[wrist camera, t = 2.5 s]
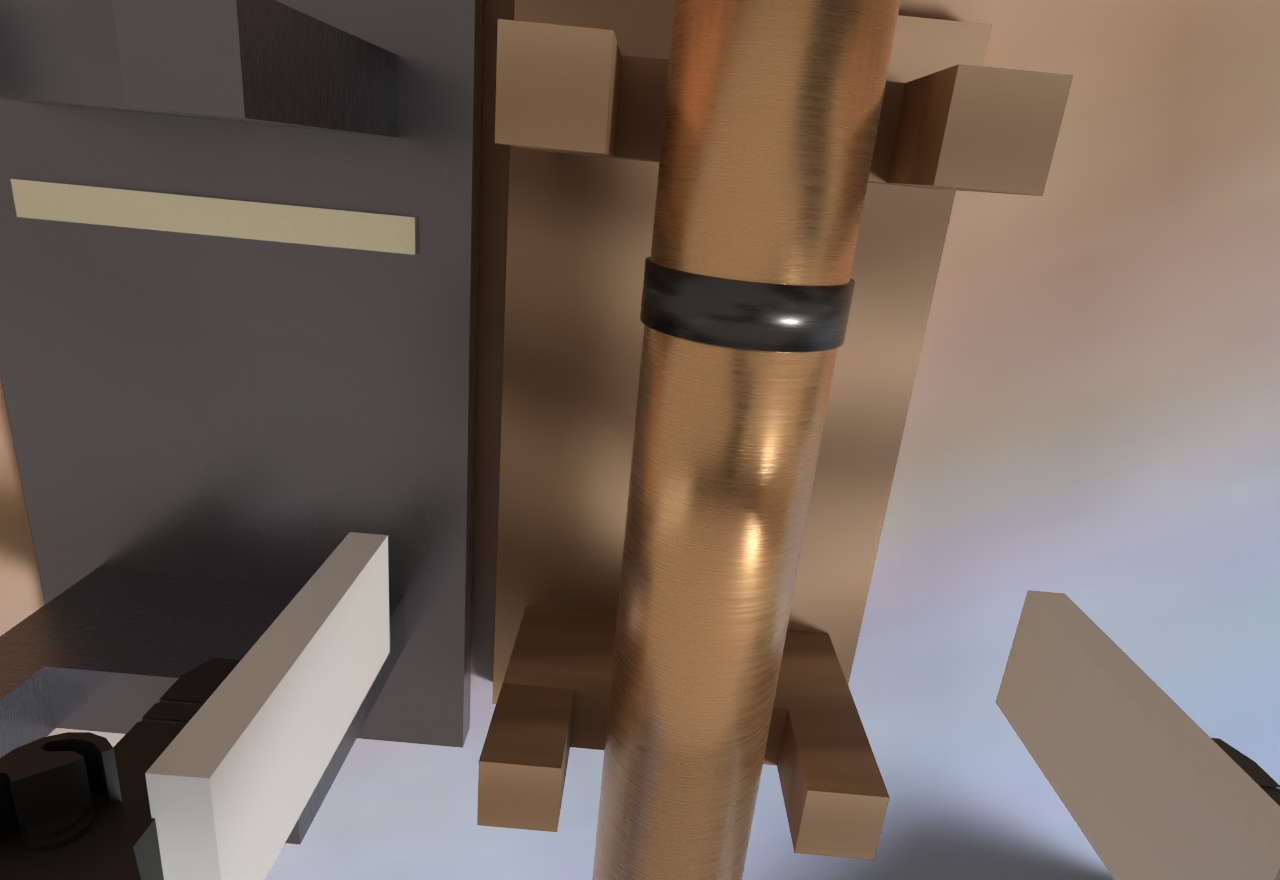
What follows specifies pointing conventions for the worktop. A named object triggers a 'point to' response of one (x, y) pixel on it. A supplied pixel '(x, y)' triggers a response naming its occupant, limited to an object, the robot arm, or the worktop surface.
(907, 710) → the worktop surface
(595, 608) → the walnut rack
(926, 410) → the worktop surface
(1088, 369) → the worktop surface
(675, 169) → the copper tube
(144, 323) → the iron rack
